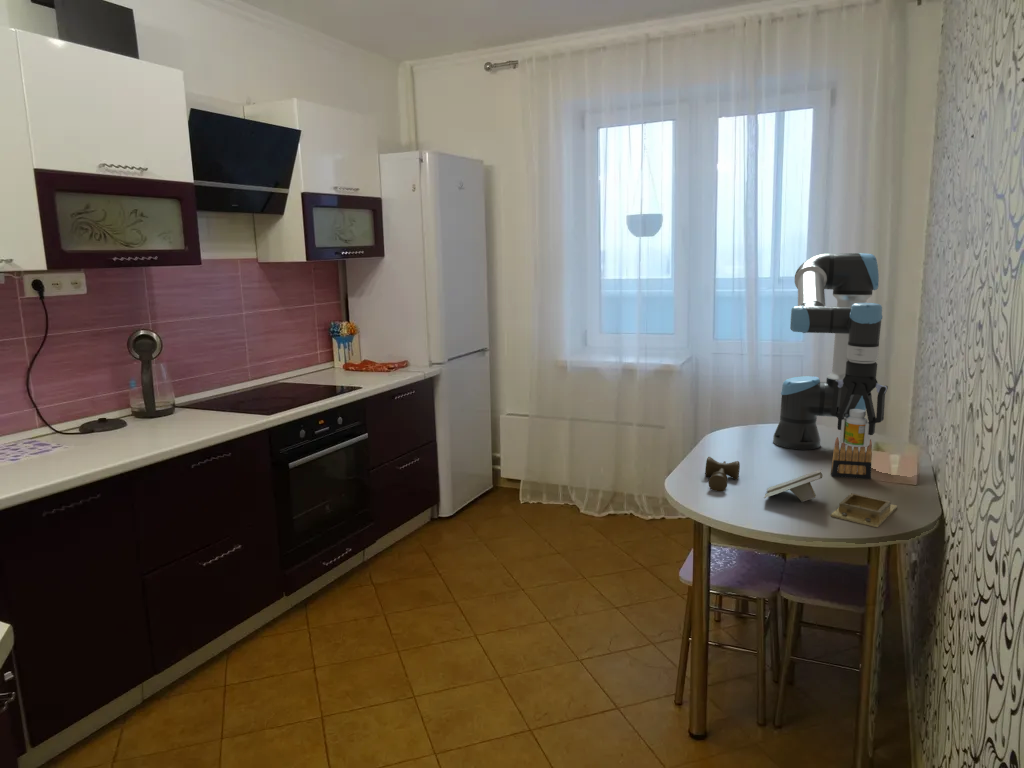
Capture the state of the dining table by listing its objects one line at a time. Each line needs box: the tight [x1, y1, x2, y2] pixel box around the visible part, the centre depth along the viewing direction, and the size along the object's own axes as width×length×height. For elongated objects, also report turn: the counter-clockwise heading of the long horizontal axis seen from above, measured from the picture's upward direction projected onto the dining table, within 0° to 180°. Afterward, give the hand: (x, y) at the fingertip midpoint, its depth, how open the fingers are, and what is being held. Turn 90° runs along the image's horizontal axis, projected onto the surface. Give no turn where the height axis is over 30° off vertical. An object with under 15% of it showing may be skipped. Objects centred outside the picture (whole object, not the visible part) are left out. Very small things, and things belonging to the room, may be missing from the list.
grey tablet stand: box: [763, 469, 824, 503], centre depth 188 cm, size 16×9×15 cm
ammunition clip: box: [830, 437, 873, 480], centre depth 205 cm, size 11×2×12 cm, turn 74°
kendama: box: [704, 456, 741, 493], centre depth 204 cm, size 6×10×20 cm
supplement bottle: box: [844, 409, 869, 448], centre depth 191 cm, size 5×5×10 cm
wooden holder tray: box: [830, 492, 898, 528], centre depth 179 cm, size 17×11×3 cm, turn 137°
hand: (854, 443), depth 192 cm, fingers closed on supplement bottle, 5 cm apart
